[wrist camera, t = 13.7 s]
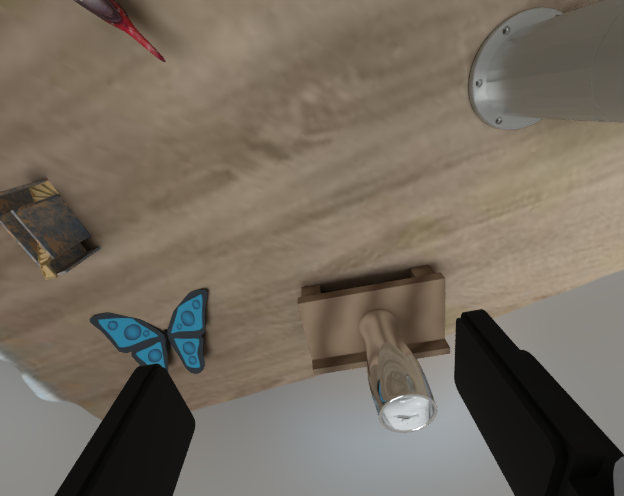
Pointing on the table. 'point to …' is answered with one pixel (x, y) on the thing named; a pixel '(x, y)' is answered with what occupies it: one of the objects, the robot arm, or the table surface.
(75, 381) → the table surface
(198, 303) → the decorative butterfly
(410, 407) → the beer glass
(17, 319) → the table surface
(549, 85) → the robot arm
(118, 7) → the decorative bird figurine
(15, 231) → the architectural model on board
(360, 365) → the display ledge
